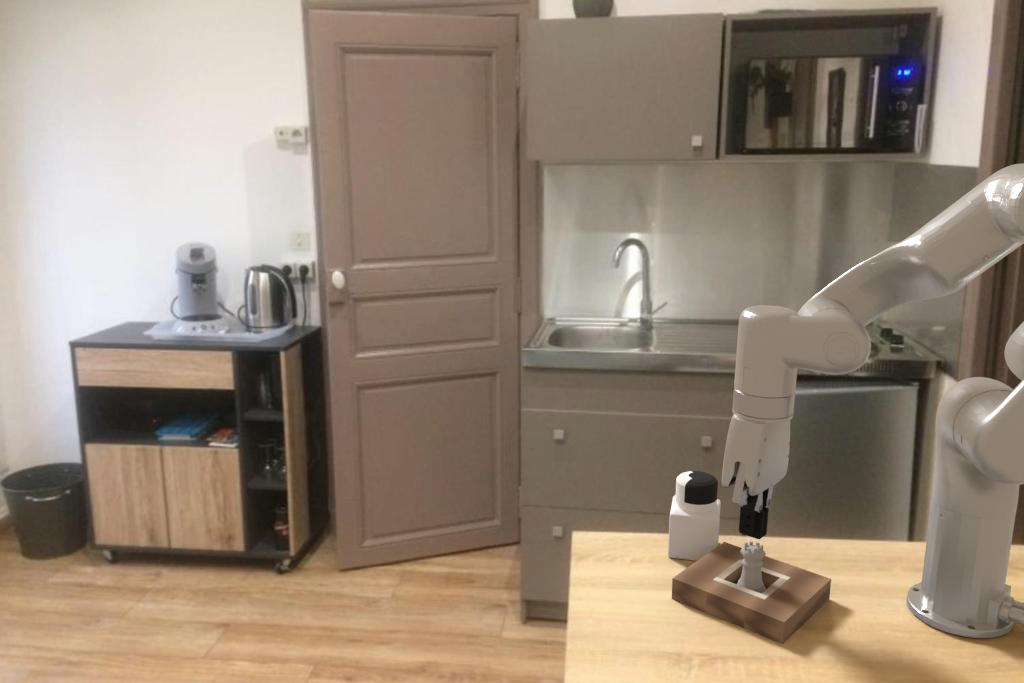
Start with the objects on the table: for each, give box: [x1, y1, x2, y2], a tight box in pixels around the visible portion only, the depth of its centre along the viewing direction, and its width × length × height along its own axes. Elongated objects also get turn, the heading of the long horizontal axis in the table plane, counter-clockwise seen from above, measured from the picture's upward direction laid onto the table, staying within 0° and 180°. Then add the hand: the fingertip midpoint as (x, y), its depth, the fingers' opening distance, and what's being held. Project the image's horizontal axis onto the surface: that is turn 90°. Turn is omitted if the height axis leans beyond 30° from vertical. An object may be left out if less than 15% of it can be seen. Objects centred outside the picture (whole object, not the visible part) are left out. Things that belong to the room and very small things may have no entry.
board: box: [671, 541, 832, 645], centre depth 119 cm, size 16×14×3 cm
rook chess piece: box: [736, 541, 767, 593], centre depth 118 cm, size 4×4×8 cm
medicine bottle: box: [667, 470, 722, 562], centre depth 131 cm, size 7×7×12 cm
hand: (752, 533), depth 117 cm, fingers closed
